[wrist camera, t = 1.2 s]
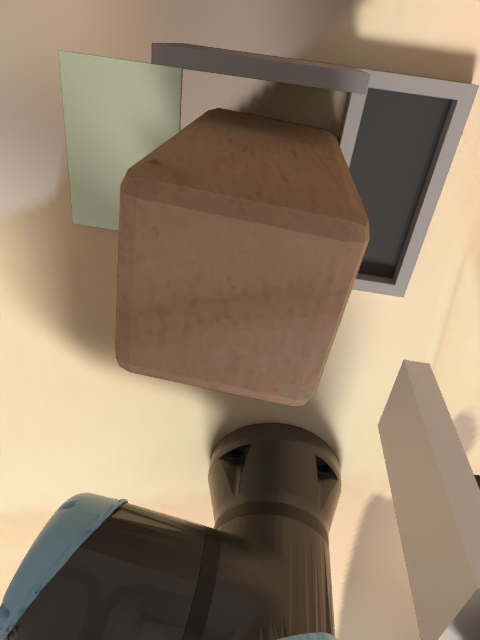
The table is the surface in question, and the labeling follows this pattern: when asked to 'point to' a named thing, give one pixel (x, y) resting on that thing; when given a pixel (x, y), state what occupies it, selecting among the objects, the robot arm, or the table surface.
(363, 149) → the pit trap
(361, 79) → the channel
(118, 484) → the table surface
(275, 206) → the wooden block
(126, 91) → the pad
